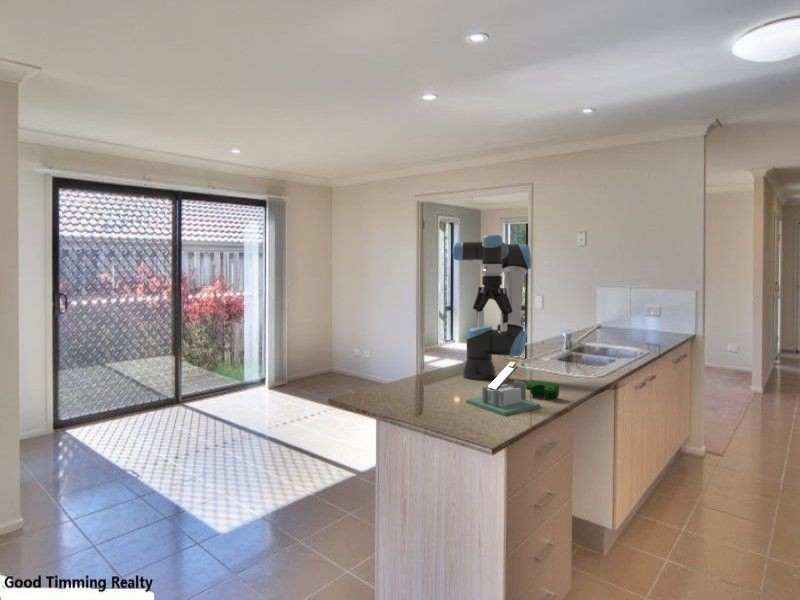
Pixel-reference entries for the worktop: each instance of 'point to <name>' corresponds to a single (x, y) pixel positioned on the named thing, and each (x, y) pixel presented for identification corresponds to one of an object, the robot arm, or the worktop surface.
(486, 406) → the board
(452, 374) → the worktop surface
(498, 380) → the grey flat bar
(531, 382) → the clamp
